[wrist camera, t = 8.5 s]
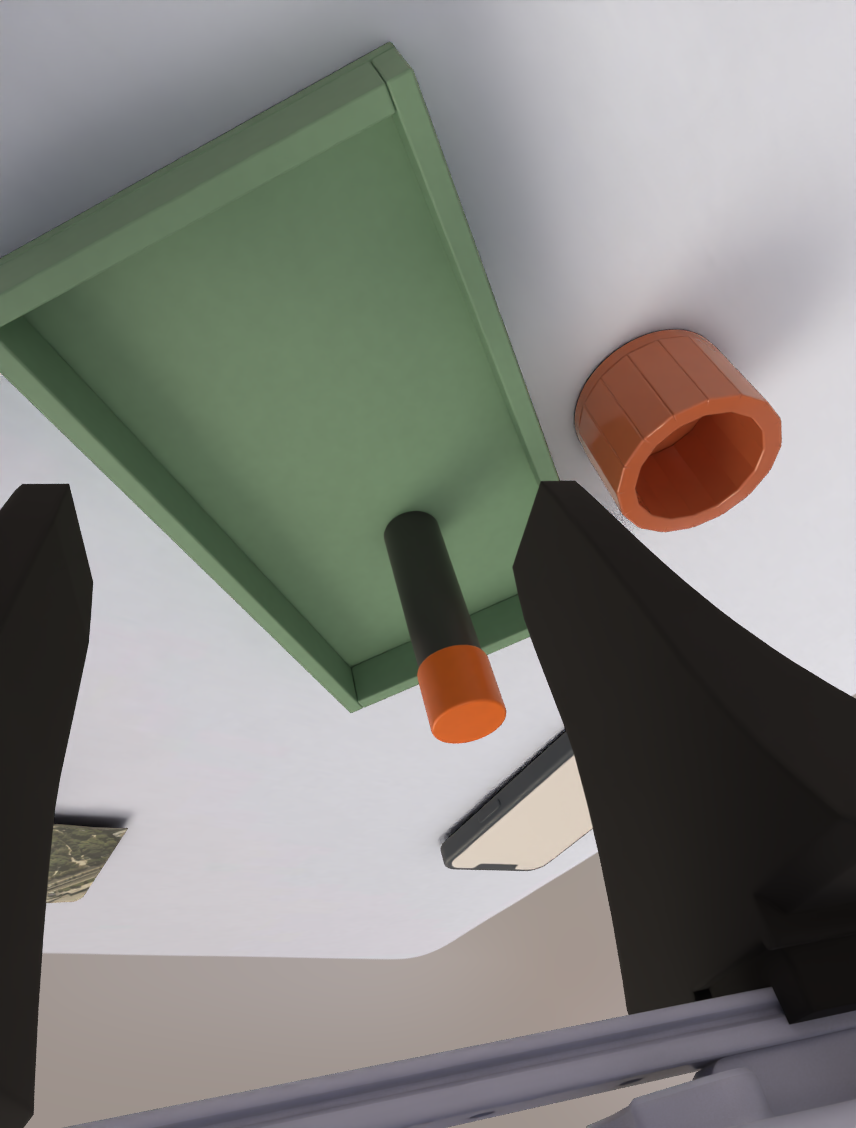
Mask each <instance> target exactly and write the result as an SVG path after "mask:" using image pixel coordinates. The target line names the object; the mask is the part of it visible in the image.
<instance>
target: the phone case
mask: <svg viewBox="0 0 856 1128" xmlns="http://www.w3.org/2000/svg"><path fill="white" fill-rule="evenodd" d="M592 829H593V827H592V823H591V819H590V814H589V810H588V806H587V802H586V798H585V794H584V791H583V787H582V783H581V779H580V775H579V772H578V768H577V764H576V760H575V756H574V753H573V750H572V747H571V744H570V741H569V738H568V735H567V732H565V733H563V734H562V735H561V736H560V737H559V738H558V739H557V740H556V741H555V742H554V743H552V744H551V745H550V746H549V747H548V748H547V749H546V750H545V751H544V752H543V753H541V754H540V755H539V756H538V757H537V758H536V759H535V760H534V761H533V762H532V763H531V764H529V765H528V766H527V767H526V768H525V769H524V770H523V771H522V772H521V773H520V774H518V775H517V776H516V777H515V778H514V779H513V780H512V781H511V782H510V783H509V784H507V785H506V786H505V787H504V788H503V789H502V790H501V791H500V792H499V793H498V794H496V795H495V796H494V797H493V798H492V799H491V800H490V801H489V802H488V803H487V804H485V805H484V806H483V807H482V808H481V809H480V810H479V811H478V812H477V813H476V814H474V815H473V816H472V817H471V818H470V819H469V820H468V821H467V822H466V823H465V824H463V825H462V826H461V827H460V828H459V829H458V830H457V831H456V832H455V833H454V834H452V835H451V836H450V837H449V838H448V839H447V840H446V841H445V842H444V843H443V844H442V846H441V853H442V857H443V861H444V864H445V866H446V867H448V868H450V869H464V870H506V871H531V870H535V869H538V868H541V867H543V866H545V865H546V864H548V863H549V862H551V861H552V860H553V859H554V858H556V857H557V856H558V855H560V854H561V853H562V852H563V851H565V850H566V849H567V848H569V847H570V846H571V845H572V844H574V843H575V842H576V841H578V840H579V839H580V838H581V837H583V836H584V835H585V834H587V833H588V832H589V831H590V830H592Z"/></svg>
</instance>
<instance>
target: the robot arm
mask: <svg viewBox="0 0 856 1128" xmlns="http://www.w3.org/2000/svg"><path fill="white" fill-rule="evenodd" d="M512 568H513V573H514V578H515V583H516V587H517V592H518V597H519V601H520V605H521V609H522V613H523V617H524V621H525V623H526V626H527V629H528V632H529V634H530V637H531V640H532V642H533V645H534V648H535V651H536V653H537V656H538V659H539V661H540V664H541V666H542V669H543V672H544V674H545V677H546V679H547V682H548V685H549V687H550V690H551V692H552V695H553V698H554V700H555V703H556V705H557V708H558V711H559V713H560V716H561V719H562V721H563V724H564V726H565V729H566V732H567V735H568V738H569V741H570V744H571V747H572V750H573V753H574V756H575V760H576V764H577V768H578V772H579V775H580V779H581V783H582V787H583V791H584V794H585V798H586V802H587V806H588V810H589V814H590V819H591V823H592V827H593V831H594V836H595V840H596V844H597V848H598V853H599V857H600V862H601V866H602V871H603V876H604V881H605V886H606V891H607V896H608V901H609V906H610V911H611V916H612V921H613V927H614V933H615V939H616V944H617V950H618V956H619V962H620V968H621V974H622V980H623V987H624V993H625V999H626V1007H627V1011H628V1014H629V1015H626V1016H622V1017H616V1018H611V1019H606V1020H602V1021H596V1022H592V1023H586V1024H581V1025H576V1026H571V1027H566V1028H561V1029H556V1030H551V1031H546V1032H541V1033H536V1034H531V1035H526V1036H522V1037H516V1038H511V1039H506V1040H501V1041H496V1042H491V1043H486V1044H481V1045H476V1046H471V1047H466V1048H461V1049H456V1050H451V1051H446V1052H441V1053H436V1054H430V1055H426V1056H420V1057H415V1058H410V1059H406V1060H401V1061H395V1062H390V1063H385V1064H380V1065H375V1066H370V1067H365V1068H360V1069H355V1070H350V1071H345V1072H340V1073H335V1074H330V1075H325V1076H320V1077H315V1078H310V1079H305V1080H300V1081H295V1082H290V1083H285V1084H280V1085H275V1086H270V1087H265V1088H260V1089H255V1090H250V1091H245V1092H240V1093H235V1094H230V1095H225V1096H219V1097H215V1098H210V1099H204V1100H199V1101H194V1102H189V1103H184V1104H180V1105H175V1106H169V1107H164V1108H159V1109H154V1110H150V1111H144V1112H139V1113H134V1114H129V1115H124V1116H119V1117H114V1118H109V1119H104V1120H99V1121H94V1122H89V1123H84V1124H79V1125H74V1126H69V1127H64V1128H446V1127H451V1126H455V1125H460V1124H464V1123H469V1122H473V1121H477V1120H482V1119H486V1118H491V1117H495V1116H500V1115H504V1114H509V1113H513V1112H517V1111H522V1110H526V1109H531V1108H535V1107H540V1106H544V1105H549V1104H553V1103H558V1102H562V1101H567V1100H571V1099H576V1098H580V1097H584V1096H589V1095H593V1094H597V1093H602V1092H606V1091H611V1090H616V1089H619V1088H624V1087H629V1086H633V1085H638V1084H642V1083H646V1082H651V1081H656V1080H660V1079H664V1078H669V1077H673V1076H678V1075H682V1074H686V1073H691V1072H695V1071H698V1072H696V1074H695V1076H694V1078H693V1080H692V1081H690V1082H686V1083H683V1084H680V1085H677V1086H673V1087H670V1088H666V1089H663V1090H660V1091H657V1092H653V1093H650V1094H647V1095H644V1096H641V1097H637V1098H634V1099H633V1100H632V1102H631V1103H630V1104H629V1106H628V1107H626V1108H624V1109H622V1110H620V1111H619V1112H617V1113H615V1114H613V1115H611V1116H609V1117H607V1118H605V1119H602V1120H600V1121H597V1122H595V1123H593V1124H590V1125H588V1126H587V1127H586V1128H856V699H855V698H854V697H852V696H850V695H848V694H847V693H845V692H843V691H841V690H839V689H838V688H836V687H834V686H832V685H831V684H829V683H827V682H826V681H824V680H822V679H821V678H819V677H818V676H816V675H814V674H813V673H811V672H809V671H808V670H806V669H804V668H803V667H801V666H800V665H798V664H796V663H795V662H793V661H791V660H790V659H788V658H787V657H785V656H784V655H782V654H781V653H779V652H778V651H776V650H775V649H773V648H772V647H770V646H769V645H767V644H766V643H765V642H763V641H762V640H760V639H759V638H757V637H756V636H755V635H753V634H752V633H750V632H749V631H748V630H746V629H745V628H743V627H742V626H741V625H739V624H738V623H736V622H735V621H734V620H732V619H731V618H730V617H728V616H727V615H726V614H724V613H723V612H722V611H721V610H719V609H718V608H717V607H715V606H714V605H713V604H712V603H711V602H709V601H708V600H707V599H706V598H704V597H703V596H702V595H701V594H700V593H698V592H697V591H696V590H695V589H693V588H692V587H691V586H690V585H689V584H687V583H686V582H685V581H684V580H683V579H682V578H680V577H679V576H678V575H677V574H676V573H675V572H673V571H672V570H671V569H670V568H669V567H668V566H667V565H666V564H664V563H663V562H662V561H661V560H660V559H659V558H658V557H657V556H656V555H654V554H653V553H652V552H651V551H650V550H649V549H648V548H647V547H646V546H645V545H644V544H642V543H641V542H640V541H639V540H638V539H637V538H636V537H635V536H634V535H633V534H632V533H631V532H630V531H629V530H628V529H626V528H625V527H624V526H623V525H622V524H621V523H620V522H619V521H618V520H617V519H616V518H615V517H614V516H613V515H612V514H611V513H610V512H609V511H607V510H606V509H605V508H604V507H603V506H602V505H601V504H600V503H599V502H598V501H597V500H596V499H595V498H594V497H593V496H591V495H590V494H589V493H588V492H587V491H586V490H585V489H584V488H583V487H581V486H580V485H579V484H578V483H577V482H576V481H541V482H540V485H539V488H538V491H537V494H536V497H535V500H534V503H533V506H532V509H531V512H530V515H529V518H528V521H527V524H526V527H525V530H524V533H523V536H522V539H521V542H520V545H519V548H518V551H517V554H516V557H515V560H514V563H513V566H512ZM92 592H93V580H92V576H91V572H90V567H89V563H88V559H87V555H86V551H85V547H84V543H83V539H82V535H81V531H80V527H79V523H78V519H77V514H76V510H75V506H74V502H73V498H72V494H71V490H70V486H69V484H22V485H21V486H20V487H18V488H17V489H16V490H15V491H14V493H13V494H12V495H11V497H10V498H9V499H8V501H7V502H6V503H5V504H4V506H3V507H2V508H1V510H0V1128H24V1126H25V1125H26V1124H27V1123H28V1121H29V1120H30V1119H31V1117H32V1116H33V1113H34V1086H35V1066H36V1047H37V1026H38V1007H39V992H40V977H41V963H42V948H43V934H44V922H45V910H46V899H47V887H48V875H49V865H50V855H51V845H52V835H53V825H54V815H55V806H56V800H57V794H58V788H59V782H60V776H61V771H62V767H63V762H64V757H65V753H66V748H67V743H68V739H69V734H70V729H71V725H72V720H73V715H74V711H75V706H76V701H77V697H78V692H79V687H80V683H81V678H82V673H83V668H84V663H85V659H86V654H87V649H88V644H89V632H90V620H91V607H92Z"/></svg>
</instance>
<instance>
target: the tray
mask: <svg viewBox="0 0 856 1128" xmlns="http://www.w3.org/2000/svg"><path fill="white" fill-rule="evenodd" d="M0 373H1V374H2V375H3V376H4V377H5V378H6V379H7V380H8V381H9V382H10V383H11V384H12V385H14V386H15V387H16V388H17V389H18V390H19V391H20V392H21V393H22V394H23V395H24V396H25V397H26V398H27V399H28V400H29V401H30V402H31V403H32V404H33V405H34V406H35V407H36V408H37V409H38V410H39V411H40V412H41V413H42V414H43V415H44V416H45V417H46V418H47V419H48V420H50V421H51V422H52V423H53V424H54V425H55V426H56V427H57V428H58V429H59V430H60V431H61V432H62V433H63V434H64V435H65V436H66V437H67V438H68V439H69V440H70V441H71V442H72V443H73V444H74V445H75V446H76V447H77V448H78V449H79V450H80V451H81V452H82V453H83V454H85V455H86V456H87V457H88V458H89V459H90V460H91V461H92V462H93V463H94V464H95V465H96V466H97V467H98V468H99V469H100V470H101V471H102V472H103V473H104V474H105V475H106V476H107V477H108V478H109V479H110V480H111V481H112V482H113V483H114V484H115V485H116V486H117V487H118V488H120V489H121V490H122V491H123V492H124V493H125V494H126V495H127V496H128V497H129V498H130V499H131V500H132V501H133V502H134V503H135V504H136V505H137V506H138V507H139V508H140V509H141V510H142V511H143V512H144V513H145V514H146V515H147V516H148V517H149V518H150V519H151V520H152V521H153V522H154V523H156V524H157V525H158V526H159V527H160V528H161V529H162V530H163V531H164V532H165V533H166V534H167V535H168V536H169V537H170V538H171V539H172V540H173V541H174V542H175V543H176V544H177V545H178V546H179V547H180V548H181V549H182V550H183V551H184V552H185V553H186V554H187V555H188V556H189V557H191V558H192V559H193V560H194V561H195V562H196V563H197V564H198V565H199V566H200V567H201V568H202V569H203V570H204V571H205V572H206V573H207V574H208V575H209V576H210V577H211V578H212V579H213V580H214V581H215V582H216V583H217V584H218V585H219V586H220V587H221V588H222V589H223V590H224V591H225V592H227V593H228V594H229V595H230V596H231V597H232V598H233V599H234V600H235V601H236V602H237V603H238V604H239V605H240V606H241V607H242V608H243V609H244V610H245V611H246V612H247V613H248V614H249V615H250V616H251V617H252V618H253V619H254V620H255V621H256V622H257V623H258V624H259V625H260V626H262V627H263V628H264V629H265V630H266V631H267V632H268V633H269V634H270V635H271V636H272V637H273V638H274V639H275V640H276V641H277V642H278V643H279V644H280V645H281V646H282V647H283V648H284V649H285V650H286V651H287V652H288V653H289V654H290V655H291V656H292V657H293V658H294V659H295V660H297V661H298V662H299V663H300V664H301V665H302V666H303V667H304V668H305V669H306V670H307V671H308V672H309V673H310V674H311V675H312V676H313V677H314V678H315V679H316V680H317V681H318V682H319V683H320V684H321V685H322V686H323V687H324V688H325V689H326V690H327V691H328V692H329V693H330V694H331V695H333V696H334V697H335V698H336V699H337V700H338V701H339V702H340V703H341V704H342V705H343V706H344V707H345V708H346V709H347V710H348V711H349V712H350V713H353V712H355V711H357V710H360V709H362V708H363V707H367V706H369V705H371V704H374V703H376V702H378V701H381V700H383V699H386V698H388V697H390V696H393V695H395V694H397V693H400V692H402V691H404V690H407V689H409V688H411V687H414V686H416V685H418V684H419V682H418V678H417V673H418V665H417V661H416V657H415V654H414V650H413V646H412V642H411V639H410V635H409V631H408V627H407V624H406V620H405V616H404V612H403V609H402V605H401V601H400V597H399V594H398V590H397V586H396V582H395V579H394V575H393V571H392V567H391V564H390V560H389V556H388V552H387V549H386V545H385V541H384V531H385V529H386V527H387V525H388V524H389V523H390V522H391V520H393V519H394V518H395V517H397V516H399V515H401V514H403V513H406V512H411V511H422V512H426V513H428V514H430V515H432V516H433V517H434V518H435V519H436V520H437V522H438V525H439V527H440V530H441V533H442V536H443V539H444V542H445V545H446V548H447V551H448V554H449V556H450V559H451V562H452V565H453V568H454V571H455V574H456V577H457V580H458V583H459V585H460V588H461V591H462V594H463V597H464V600H465V603H466V606H467V609H468V612H469V614H470V617H471V620H472V623H473V626H474V629H475V632H476V635H477V638H478V641H479V643H480V646H481V649H482V650H483V651H484V652H485V653H486V655H488V654H491V653H493V652H495V651H498V650H500V649H502V648H505V647H507V646H509V645H512V644H514V643H516V642H519V641H521V640H523V639H526V638H528V637H530V634H529V632H528V629H527V626H526V623H525V621H524V617H523V613H522V609H521V605H520V601H519V597H518V592H517V587H516V583H515V578H514V573H513V568H512V566H513V563H514V560H515V557H516V554H517V551H518V548H519V545H520V542H521V539H522V536H523V533H524V530H525V527H526V524H527V521H528V518H529V515H530V512H531V509H532V506H533V503H534V500H535V497H536V494H537V491H538V488H539V485H540V482H541V481H560V480H559V477H558V474H557V472H556V469H555V466H554V463H553V460H552V458H551V455H550V452H549V449H548V446H547V444H546V441H545V438H544V435H543V432H542V430H541V427H540V424H539V421H538V418H537V416H536V413H535V410H534V407H533V404H532V402H531V399H530V396H529V393H528V390H527V388H526V385H525V382H524V379H523V376H522V373H521V371H520V368H519V365H518V362H517V359H516V357H515V354H514V351H513V348H512V345H511V343H510V340H509V337H508V334H507V331H506V329H505V326H504V323H503V320H502V317H501V315H500V312H499V309H498V306H497V303H496V301H495V298H494V295H493V292H492V289H491V287H490V284H489V281H488V278H487V275H486V273H485V270H484V267H483V264H482V261H481V259H480V256H479V253H478V250H477V247H476V245H475V242H474V239H473V236H472V233H471V230H470V228H469V225H468V222H467V219H466V216H465V214H464V211H463V208H462V205H461V202H460V200H459V197H458V194H457V191H456V188H455V186H454V183H453V180H452V177H451V174H450V172H449V169H448V166H447V163H446V160H445V158H444V155H443V152H442V149H441V146H440V144H439V141H438V138H437V135H436V132H435V130H434V127H433V124H432V121H431V118H430V116H429V113H428V110H427V107H426V104H425V102H424V99H423V96H422V93H421V90H420V88H419V85H418V82H417V79H416V76H415V73H414V71H413V69H412V68H411V67H410V65H409V64H408V63H407V62H406V61H405V59H404V58H403V57H402V56H401V54H400V53H399V52H398V51H397V49H396V48H395V47H394V45H393V44H392V43H391V42H388V43H386V44H385V45H383V46H381V47H379V48H377V49H376V50H374V51H372V52H370V53H368V54H367V55H365V56H363V57H361V58H359V59H358V60H356V61H354V62H352V63H350V64H349V65H347V66H345V67H343V68H341V69H340V70H338V71H336V72H334V73H332V74H331V75H329V76H327V77H325V78H323V79H322V80H320V81H318V82H316V83H314V84H313V85H311V86H309V87H307V88H306V89H304V90H302V91H300V92H298V93H297V94H295V95H293V96H291V97H289V98H288V99H286V100H284V101H282V102H280V103H279V104H277V105H275V106H273V107H271V108H270V109H268V110H266V111H264V112H262V113H261V114H259V115H257V116H255V117H253V118H252V119H250V120H248V121H246V122H244V123H243V124H241V125H239V126H237V127H235V128H234V129H232V130H230V131H228V132H227V133H225V134H223V135H221V136H219V137H218V138H216V139H214V140H212V141H210V142H209V143H207V144H205V145H203V146H201V147H200V148H198V149H196V150H194V151H192V152H191V153H189V154H187V155H185V156H183V157H182V158H180V159H178V160H176V161H174V162H173V163H171V164H169V165H167V166H165V167H164V168H162V169H160V170H158V171H156V172H155V173H153V174H151V175H149V176H148V177H146V178H144V179H142V180H140V181H139V182H137V183H135V184H133V185H131V186H130V187H128V188H126V189H124V190H122V191H121V192H119V193H117V194H115V195H113V196H112V197H110V198H108V199H106V200H104V201H103V202H101V203H99V204H97V205H95V206H94V207H92V208H90V209H88V210H86V211H85V212H83V213H81V214H79V215H77V216H76V217H74V218H72V219H70V220H69V221H67V222H65V223H63V224H61V225H60V226H58V227H56V228H54V229H52V230H51V231H49V232H47V233H45V234H43V235H42V236H40V237H38V238H36V239H34V240H33V241H31V242H29V243H27V244H25V245H24V246H22V247H20V248H18V249H16V250H15V251H13V252H11V253H9V254H7V255H6V256H4V257H2V258H0Z"/></svg>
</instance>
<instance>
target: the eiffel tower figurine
mask: <svg viewBox="0 0 856 1128" xmlns="http://www.w3.org/2000/svg"><path fill="white" fill-rule="evenodd" d="M127 829H128V828H99V827H86V826H74V825H62V824H54V825H53V835H52V845H51V855H50V865H49V875H48V887H47V899H46V903H56V902H74V901H77V900H79V899H81V898H82V897H83V896H84V895H85V893H86V892H87V890H88V889H89V887H90V886H91V884H92V882H93V881H94V879H95V878H96V876H97V875H98V873H99V872H100V870H101V869H102V867H103V866H104V864H105V863H106V861H107V860H108V858H109V857H110V855H111V853H112V852H113V850H114V849H115V847H116V846H117V844H118V843H119V841H120V840H121V838H122V837H123V835H124V834H125V832H126V831H127Z"/></svg>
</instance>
